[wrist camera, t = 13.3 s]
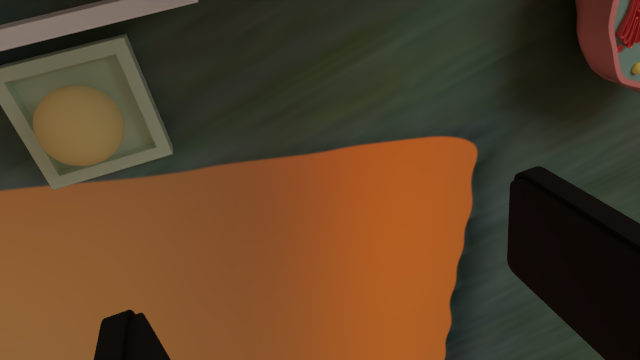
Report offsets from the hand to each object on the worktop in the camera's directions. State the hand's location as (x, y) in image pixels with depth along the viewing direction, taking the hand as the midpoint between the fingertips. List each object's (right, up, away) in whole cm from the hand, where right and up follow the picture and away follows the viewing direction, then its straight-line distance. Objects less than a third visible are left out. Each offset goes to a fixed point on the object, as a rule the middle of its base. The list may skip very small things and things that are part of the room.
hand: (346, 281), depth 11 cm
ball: (-19, +7, +22) cm, 29 cm away
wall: (-20, +14, +21) cm, 33 cm away
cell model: (+30, +22, +35) cm, 51 cm away
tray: (-20, +8, +25) cm, 33 cm away
